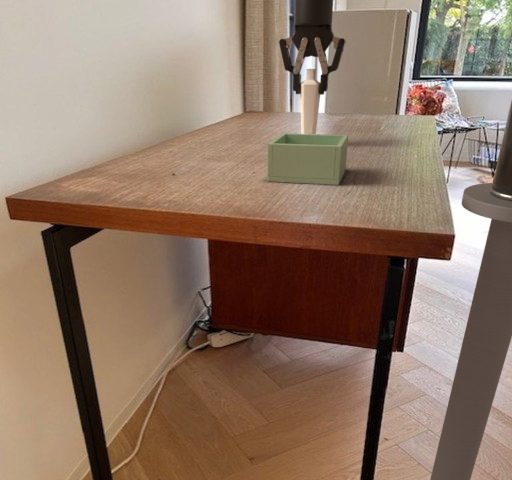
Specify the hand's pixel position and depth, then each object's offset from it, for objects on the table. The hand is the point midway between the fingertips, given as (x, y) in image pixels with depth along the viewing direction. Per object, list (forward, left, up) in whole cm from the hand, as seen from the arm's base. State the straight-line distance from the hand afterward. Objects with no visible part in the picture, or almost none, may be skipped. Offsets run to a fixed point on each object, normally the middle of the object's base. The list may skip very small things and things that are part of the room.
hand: (310, 93), depth 107 cm
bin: (-5, +31, -10) cm, 33 cm away
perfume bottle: (0, 0, -11) cm, 11 cm away
